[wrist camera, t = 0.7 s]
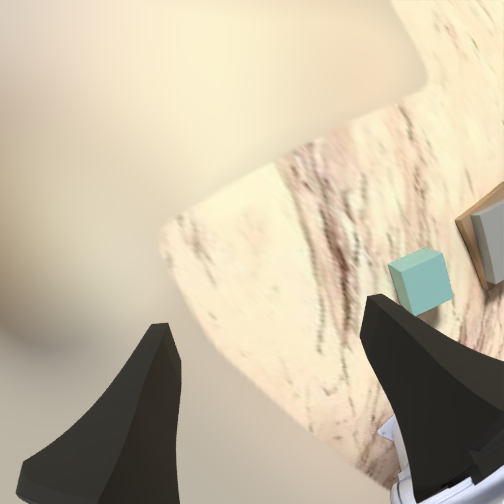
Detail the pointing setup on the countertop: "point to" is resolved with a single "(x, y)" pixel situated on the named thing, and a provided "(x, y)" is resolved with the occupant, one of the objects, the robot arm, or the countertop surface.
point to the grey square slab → (491, 240)
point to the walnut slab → (469, 234)
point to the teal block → (421, 280)
